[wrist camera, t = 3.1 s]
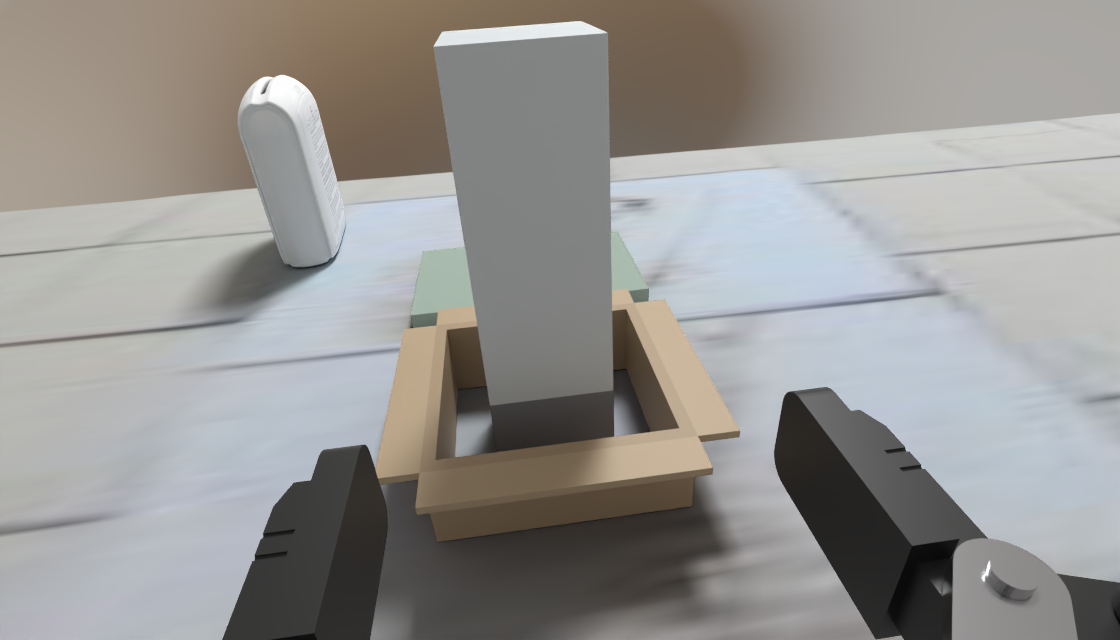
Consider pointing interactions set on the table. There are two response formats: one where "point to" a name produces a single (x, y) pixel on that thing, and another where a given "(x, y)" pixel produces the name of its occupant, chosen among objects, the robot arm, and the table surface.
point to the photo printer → (292, 169)
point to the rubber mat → (451, 288)
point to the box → (536, 222)
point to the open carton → (562, 469)
